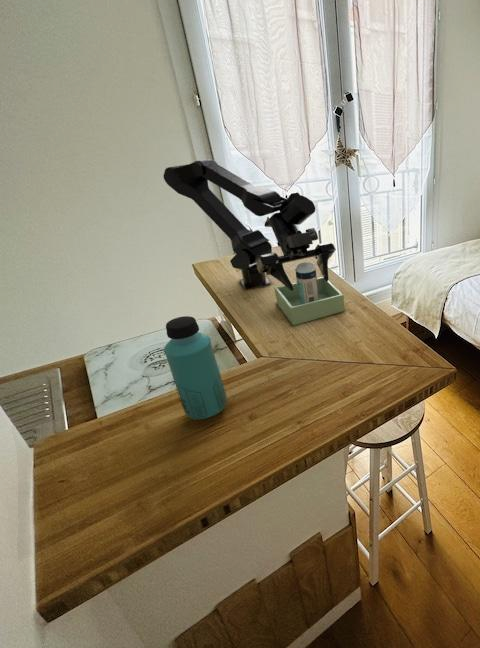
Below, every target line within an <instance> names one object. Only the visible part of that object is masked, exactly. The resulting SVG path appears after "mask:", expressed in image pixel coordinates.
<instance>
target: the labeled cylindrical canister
mask: <svg viewBox="0 0 480 648" xmlns="http://www.w3.org/2000/svg"><path fill="white" fill-rule="evenodd" d="M294 271H295V279H296V283H297V286H298V293H299V301H300V305H301V304H305V303H309V302H313V301H317V300H319V295H318V286H317V278H318V277H317V268H316V266H315V264H313V263H312V262H301V263H298V264H297V265H296V267H295V269H294Z"/></svg>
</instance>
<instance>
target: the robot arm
mask: <svg viewBox="0 0 480 648" xmlns="http://www.w3.org/2000/svg"><path fill="white" fill-rule="evenodd" d="M163 180H164V182H165V183H166V184H167V185H168V186H169V187H170V188H171V189H172V190H173V191H175V192H176V193H177V194H179V195H181V196H184V197H186V198H188V199H191V200H192V201H193V202H194V203H195V204H196V205H197V206H198V207H199V208H200V209H201V210H202V211H203V212H204V213H205V214H206V215H207V216H208V217H209V218H210V219H211V221H212V222H213V223H214V224H215V225H216V226H217V227H218V228H219V229H220V230H221V231H222V232H223V233H224V234H225V235H226V236H227V237H228V238H229V239H230V241H231V246H232V251H233V252H234V253H235V255H234V256H233V257H232V258H231V259H230V261H229V262H230V264H231V267H232V268H233V269H237V270H240V271H241V276H242V278H241V279H239V282H240V283H241V285H242V286H243V288H244V289H245V290H249V289H254V288H259V287H264V286H269V285H271V281H270V280H269V279H268V278H267V276H272V277H273V278H274V279H276V280H277V281H279V282H280V283H281V284H282V285H285V286H286V287H287V288H288V289H289V290H291V291H293V287H292V284H293V283H292V282H291V280H290V278H289V276H288V275H287V272H286V271H285V268H284V265H283V264H287V263H293V262H296V261H301V260H304V259H309V258H313V257H314V258H315V260H317V261H316V265H317V267H318V269H319V271H320V273H321V275H322V277H323V278H324V279H325V281H329V266H328V265H329V259H330V258H332V256H333V254H334V253H335V252H336V250H337V249H336V246H335V245H334V243H332V242H331V241H327V242H322V243H318V244H317V245H316V247H315V248H314V249H310V247H311V245H313V244H314V243H313V242H314V241H317V240H319V235H318V233H317V230H316V229H315V227H312V228H311V227H310V228H307V229H305V232H302V231H301V230H299V229H298V227H297V226H299V225H302V224H303V223H304V222H305V221H306V220H307V219H308V218H310V217H311V216H312V215H314V214H315V212H316V205H315V203H314V202H313V200H312V199H309V198H308V197H306V196H305V195H301V194H300V193H299V192H298V191H295V192H292V193H290V194H289V195H288V197H284V196H283V195H280V194H279V193H278V192H277V191H275V190H273V189H270V188H268V187H266V186H260V185H255V184H252V183H250V182H248V181H247V180H245V179H243V178H242V177H240V176H238V175H236V174H235V173H233V172H232V171H230V170H229V169H226V168H225V167H223V166H222V165H220V164H218V163H217V161H216V160H213V159H209V158H207V159H202V160H200V159H199V160H195V161H194V162H190V163H188V164H181V165H175V166H169V167H165V169H164V172H163ZM209 182H211V183H212V184H214V185H216V186H217V187H219V188H221V189H222V190H224V191H225V192H226V193H229V194H231V195H233V196H234V197H236V198H238V199H239V200H240V201H241V203H242V204H243V207H244V208H245V209H247V210H248V211H249V212H250V213H252V214H253V215H254V216H257V217H265V216H266V215H271V214H272V215H271V216H267V217H266V220H265V222H264V224H263V225H264V227H265V228H271V230H272V232H273V234H274V236H275V238H276V241H277V243H276V244H277V246H278V247H279V248H280V250H281V252H282V254H283V255H278V254H277V252H273V250H272V249H273V246H272V244H271V242H269V241H270V239H269V238H267V237H266V236H265V235H264V234H263V233H262V231H260V229H256V230H250V229H248V228H247V227H246V226H245V225H244V224H243V223H242V222H241V221H240V219H238V218H237V216H235V215H234V214H233V212H232V211H231V210H230V209H229V208H228V207H227V206H226V205H225V204H224V203H223V202H222V201H221V200H220V198H219V197H218V196H217V195H216V194H214V192H213V191H212V190H211V189H210V185H209ZM308 249H309V250H308Z"/></svg>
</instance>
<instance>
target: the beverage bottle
mask: <svg viewBox="0 0 480 648" xmlns="http://www.w3.org/2000/svg"><path fill="white" fill-rule="evenodd" d="M165 330H166V335H167V337H168V339H170V340H169V341H167V343H166V344H165V346H164V347H163V353H164V355H165V358H166V360H167V363H168V367H169V370H170V373H171V376H172V380H173V382H174V386H175V390H176V391H177V392H176V393H177V396H178V400H179V402H180V404H181V407H182V410H183V413H184V415H185V416H186V417H188V418H189V419H192V420H204V419H209V418H211V417H213V416H217V414H219V413H220V412H221V411H223V410H224V409H225V407H226V405H227V402H228V394H227V390H226V389H225V388H226V387H225V384H224V381H223V378H222V374H221V371H220V370H221V369H220V367H219V365H218V361H217V359H216V355H215V352H214V348H213V345H212V340H211V338H210V336H209V335H208V334H206V333H202V332H199V331H200V327H199V324H198V322H197V319H196V318H195V317H193V316H190V315H189V316H186V315H185V316H179V317H174V318H173V319H170V320H169V321H167V322H166V324H165Z"/></svg>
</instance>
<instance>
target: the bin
mask: <svg viewBox="0 0 480 648" xmlns="http://www.w3.org/2000/svg"><path fill="white" fill-rule="evenodd" d="M291 284H292V287H293V291H291V290H289V289H288V288H287V287H286V286H285V285H284V284H282V285H279V286H275V287H273V288H274V293H275V299H276V304H277V306H278V307H279V309H280V310H281V311H282V312H283V314H284V315H285V316H286V318H287V319H288V321H289V322H290V323H291V324H292V326H296V325H300V324H304V323H307V322H310V321H314V320H317V319H320V318H325V317H329V316H331V315H332V316H333V315H335V314H338V313H339V314H340V313H342V312H345V298H344V294H343V293H342V292H341V291H340V290H339V289H338V288H337V287H336V286H335V285H334V284H333V283H332V282H330V280H328V281H325V279H324V278H323V276H320V277H317V286H318V295H319V300H317V301H313V302H309V303H305V304H301V305H300V301H299V293H298V286H297V282H293V283H291Z"/></svg>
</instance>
